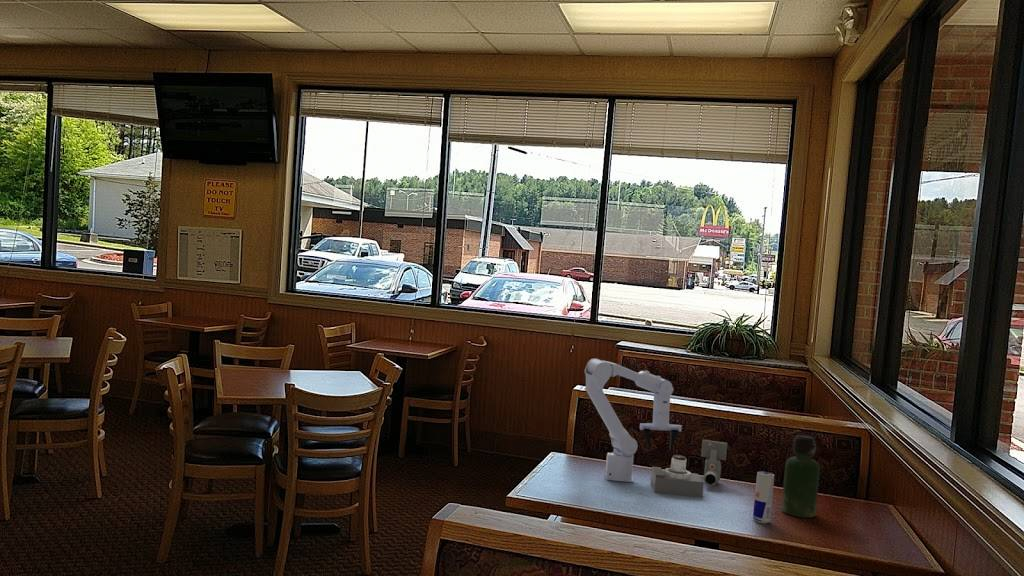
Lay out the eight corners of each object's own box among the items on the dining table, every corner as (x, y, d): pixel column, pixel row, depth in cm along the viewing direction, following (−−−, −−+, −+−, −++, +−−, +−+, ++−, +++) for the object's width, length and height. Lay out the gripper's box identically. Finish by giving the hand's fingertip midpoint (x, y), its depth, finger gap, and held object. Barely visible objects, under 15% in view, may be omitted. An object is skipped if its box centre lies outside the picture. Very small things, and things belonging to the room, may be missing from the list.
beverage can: (757, 517, 252) (762, 470, 251) (772, 522, 248) (777, 474, 248) (749, 520, 248) (754, 472, 248) (764, 525, 245) (769, 476, 244)
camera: (696, 486, 283) (700, 444, 283) (699, 479, 294) (702, 438, 294) (722, 490, 281) (726, 448, 280) (723, 482, 292) (727, 441, 292)
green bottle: (780, 514, 257) (787, 436, 257) (781, 506, 267) (789, 431, 266) (815, 520, 254) (822, 441, 253) (815, 512, 264) (822, 436, 263)
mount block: (654, 492, 271) (656, 473, 271) (650, 483, 282) (652, 465, 282) (702, 497, 270) (704, 477, 270) (696, 488, 281) (698, 469, 281)
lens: (670, 476, 274) (672, 457, 274) (669, 473, 279) (671, 454, 278) (685, 478, 273) (687, 459, 273) (684, 475, 278) (686, 456, 278)
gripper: (641, 413, 284) (640, 452, 285) (683, 415, 284) (681, 454, 284) (639, 409, 291) (638, 447, 292) (680, 411, 291) (678, 449, 291)
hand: (659, 450), depth 289 cm, fingers open, 7 cm apart
